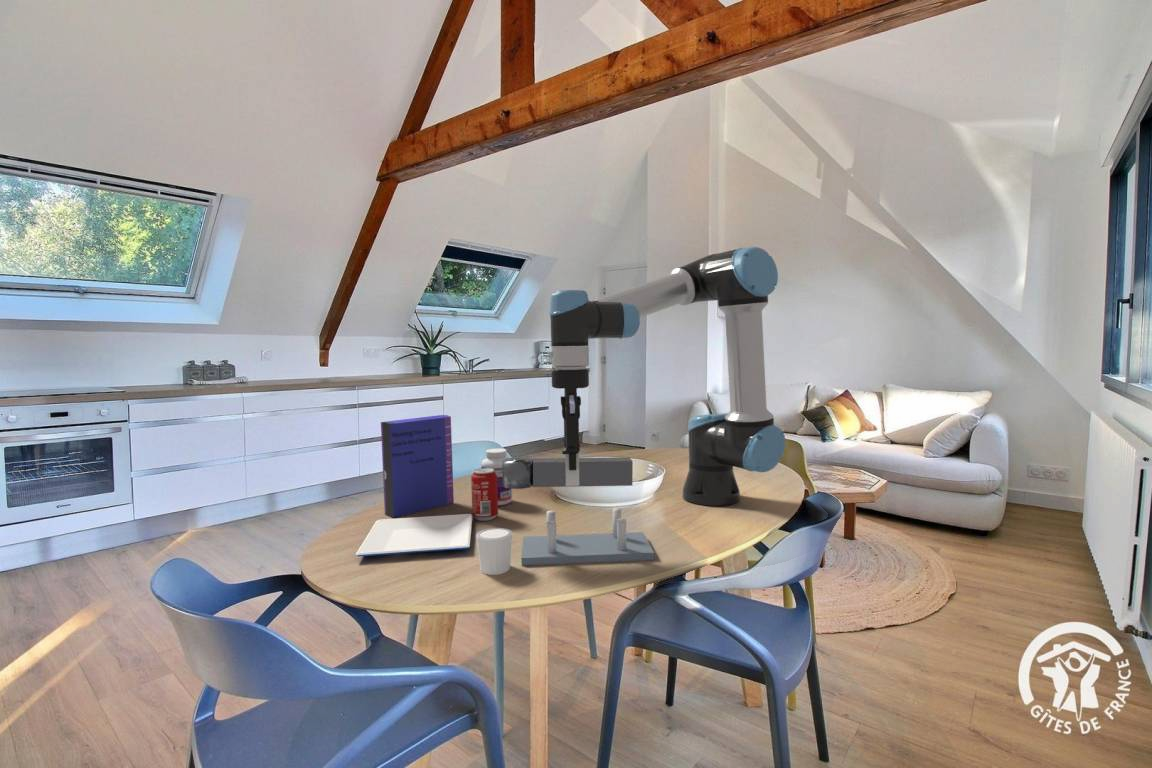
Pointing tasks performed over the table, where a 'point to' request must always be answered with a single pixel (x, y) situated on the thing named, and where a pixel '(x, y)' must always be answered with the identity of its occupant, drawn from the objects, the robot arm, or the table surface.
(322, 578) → the table surface
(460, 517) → the plate
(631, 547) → the peg rack
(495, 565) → the white cup
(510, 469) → the dark grey bar
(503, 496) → the pill bottle
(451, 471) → the blue book
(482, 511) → the beverage can
